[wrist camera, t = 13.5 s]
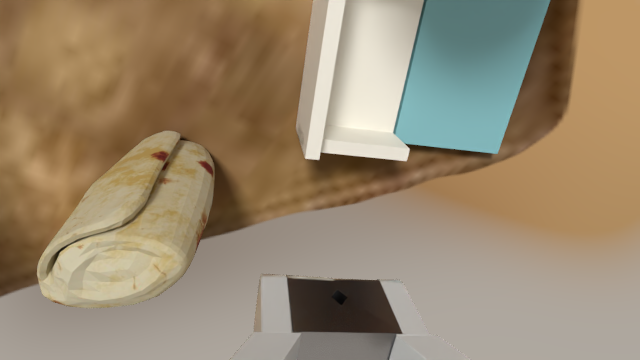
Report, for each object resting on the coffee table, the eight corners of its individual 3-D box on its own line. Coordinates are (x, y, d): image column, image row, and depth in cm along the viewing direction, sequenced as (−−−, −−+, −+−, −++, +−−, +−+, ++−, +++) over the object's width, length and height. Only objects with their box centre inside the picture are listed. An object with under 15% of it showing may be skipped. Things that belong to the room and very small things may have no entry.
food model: (134, 194, 42) (39, 341, 24) (113, 133, 39) (-14, 247, 21) (228, 178, 42) (206, 309, 24) (213, 118, 40) (176, 214, 21)
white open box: (295, 127, 41) (305, 158, 33) (321, -60, 35) (340, -80, 27) (384, 137, 43) (414, 169, 35) (424, -39, 37) (472, -51, 28)
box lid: (393, 142, 41) (497, 153, 43) (436, -38, 35) (554, -14, 37) (387, 136, 43) (487, 147, 45) (427, -36, 37) (541, -13, 39)
